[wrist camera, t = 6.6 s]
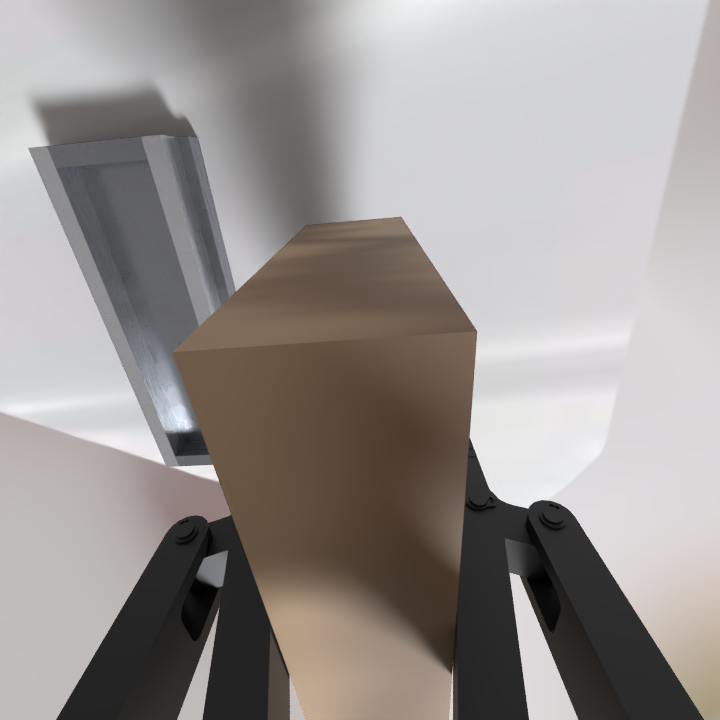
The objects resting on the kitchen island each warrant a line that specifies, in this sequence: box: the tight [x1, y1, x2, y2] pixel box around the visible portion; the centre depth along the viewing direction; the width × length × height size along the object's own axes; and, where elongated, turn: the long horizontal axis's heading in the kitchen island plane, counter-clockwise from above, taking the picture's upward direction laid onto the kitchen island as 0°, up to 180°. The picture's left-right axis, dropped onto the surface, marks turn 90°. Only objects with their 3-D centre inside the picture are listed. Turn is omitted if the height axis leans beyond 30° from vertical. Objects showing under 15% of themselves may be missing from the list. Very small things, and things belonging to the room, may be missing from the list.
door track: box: [28, 135, 236, 467], centre depth 30 cm, size 10×26×4 cm, turn 5°
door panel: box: [172, 217, 477, 720], centre depth 14 cm, size 5×16×12 cm, turn 5°
